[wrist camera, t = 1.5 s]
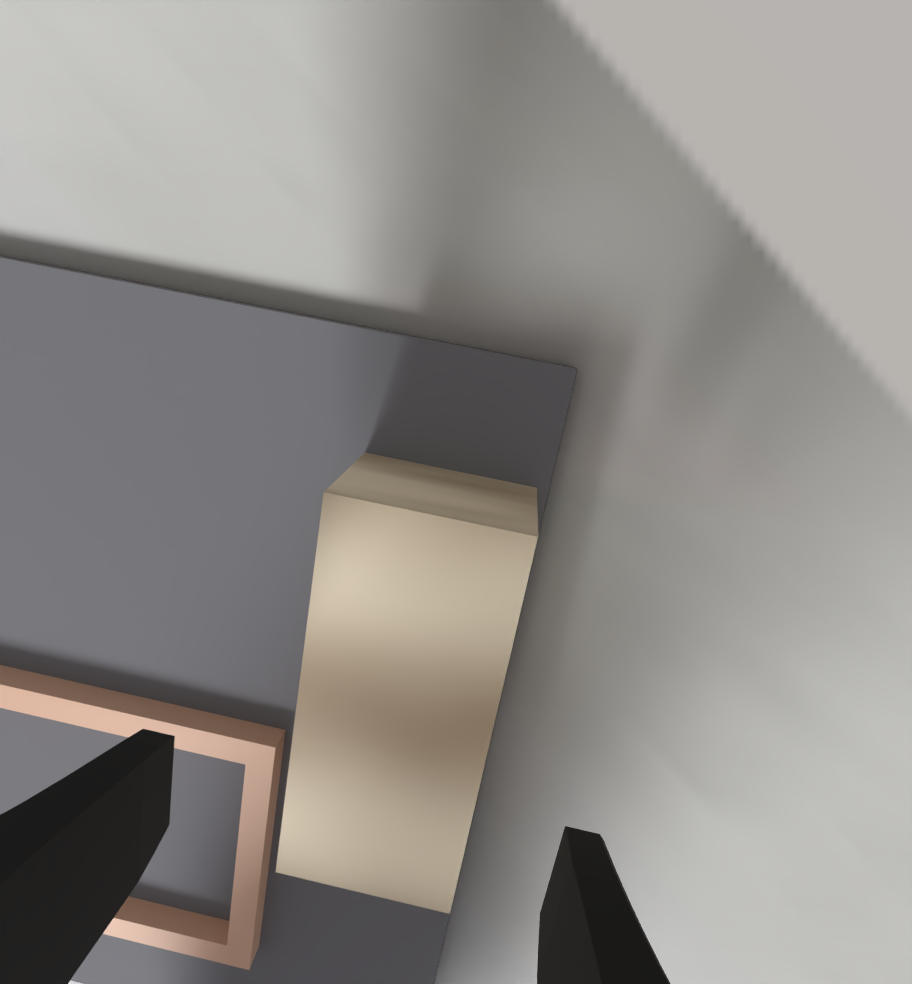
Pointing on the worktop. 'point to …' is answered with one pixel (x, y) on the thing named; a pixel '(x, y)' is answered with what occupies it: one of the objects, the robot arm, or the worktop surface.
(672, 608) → the worktop surface
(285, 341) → the rubber mat
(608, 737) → the worktop surface
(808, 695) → the worktop surface
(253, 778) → the terracotta frame
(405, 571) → the cream long block
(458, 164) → the worktop surface
